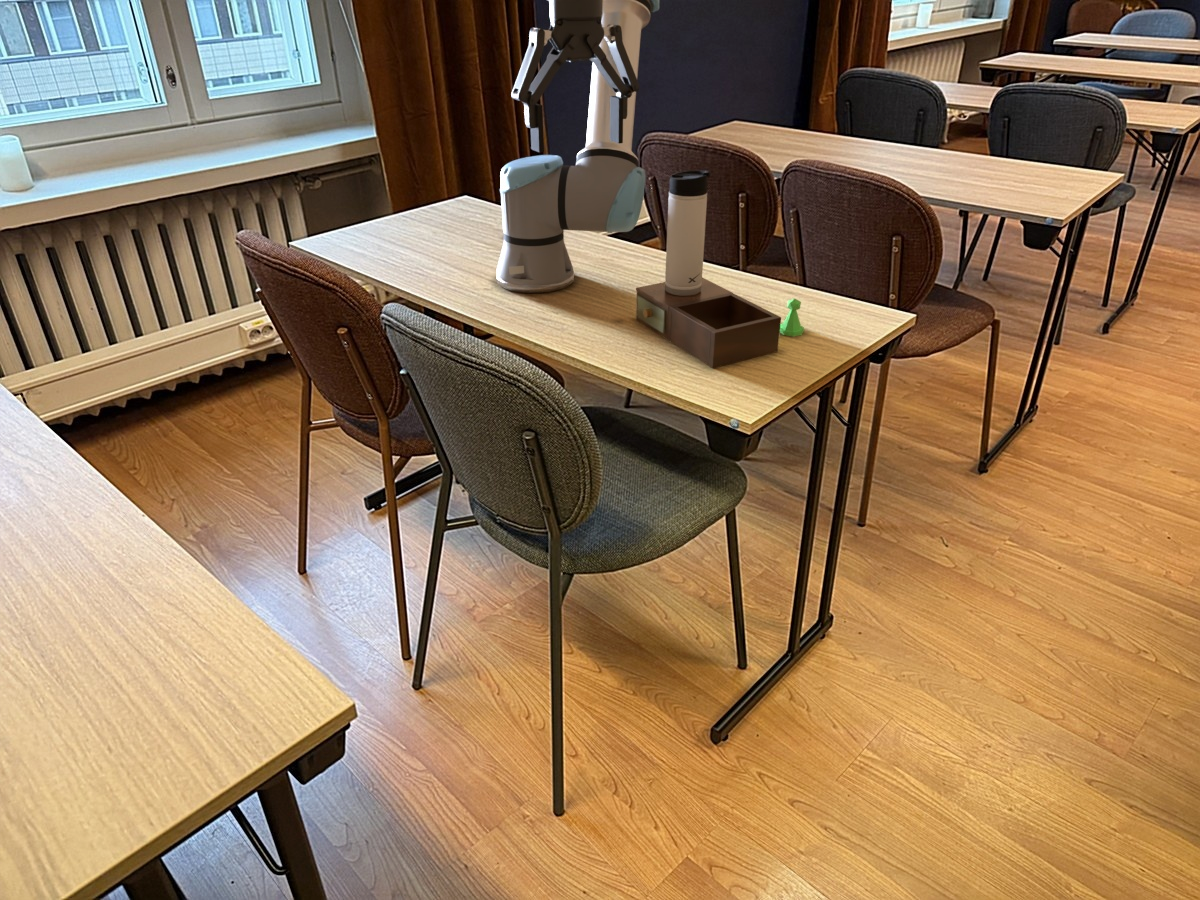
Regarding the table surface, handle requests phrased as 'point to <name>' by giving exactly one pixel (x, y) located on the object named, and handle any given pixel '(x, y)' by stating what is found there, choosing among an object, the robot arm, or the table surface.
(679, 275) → the travel mug
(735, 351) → the storage box
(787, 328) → the game piece
